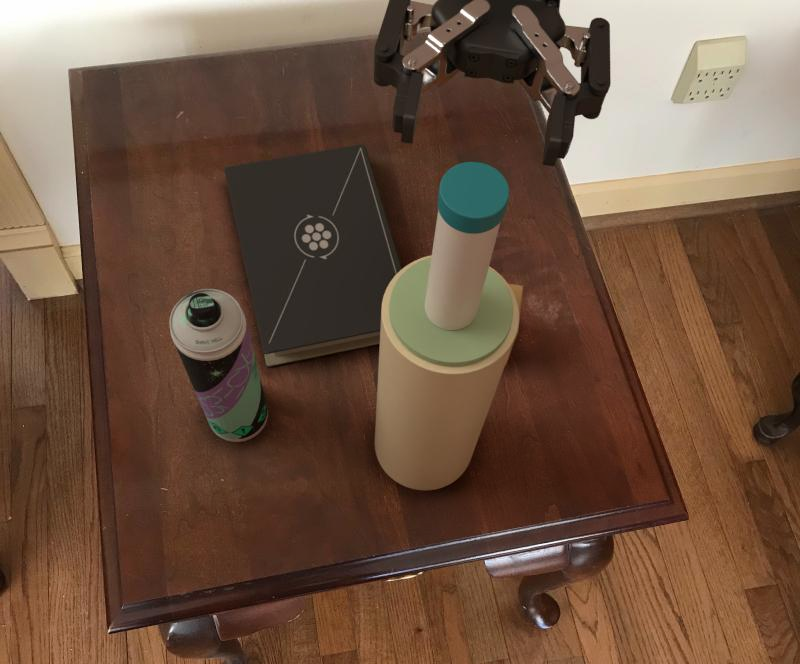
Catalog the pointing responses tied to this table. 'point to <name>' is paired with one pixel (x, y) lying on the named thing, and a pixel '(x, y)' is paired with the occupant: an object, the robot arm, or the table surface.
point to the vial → (464, 242)
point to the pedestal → (431, 406)
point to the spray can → (220, 362)
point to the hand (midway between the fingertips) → (479, 145)
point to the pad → (449, 344)
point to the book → (313, 251)
